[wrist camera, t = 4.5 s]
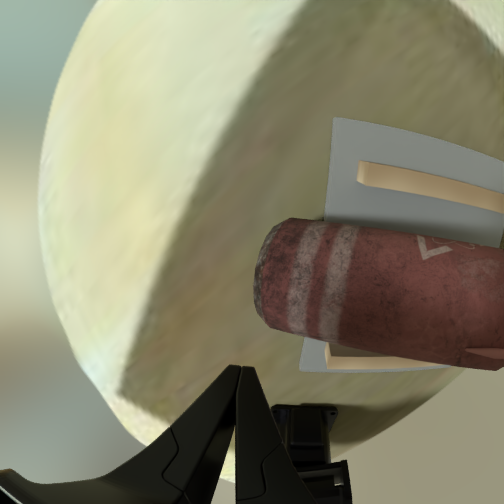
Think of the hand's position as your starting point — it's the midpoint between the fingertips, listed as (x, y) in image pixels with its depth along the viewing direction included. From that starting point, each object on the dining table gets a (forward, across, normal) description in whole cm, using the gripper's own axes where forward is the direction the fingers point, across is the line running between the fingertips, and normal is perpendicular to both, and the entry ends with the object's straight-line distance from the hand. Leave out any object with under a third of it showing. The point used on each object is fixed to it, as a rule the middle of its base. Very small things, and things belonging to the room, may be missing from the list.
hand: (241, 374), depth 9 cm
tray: (+10, -11, 0) cm, 15 cm away
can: (+8, -1, 0) cm, 8 cm away
